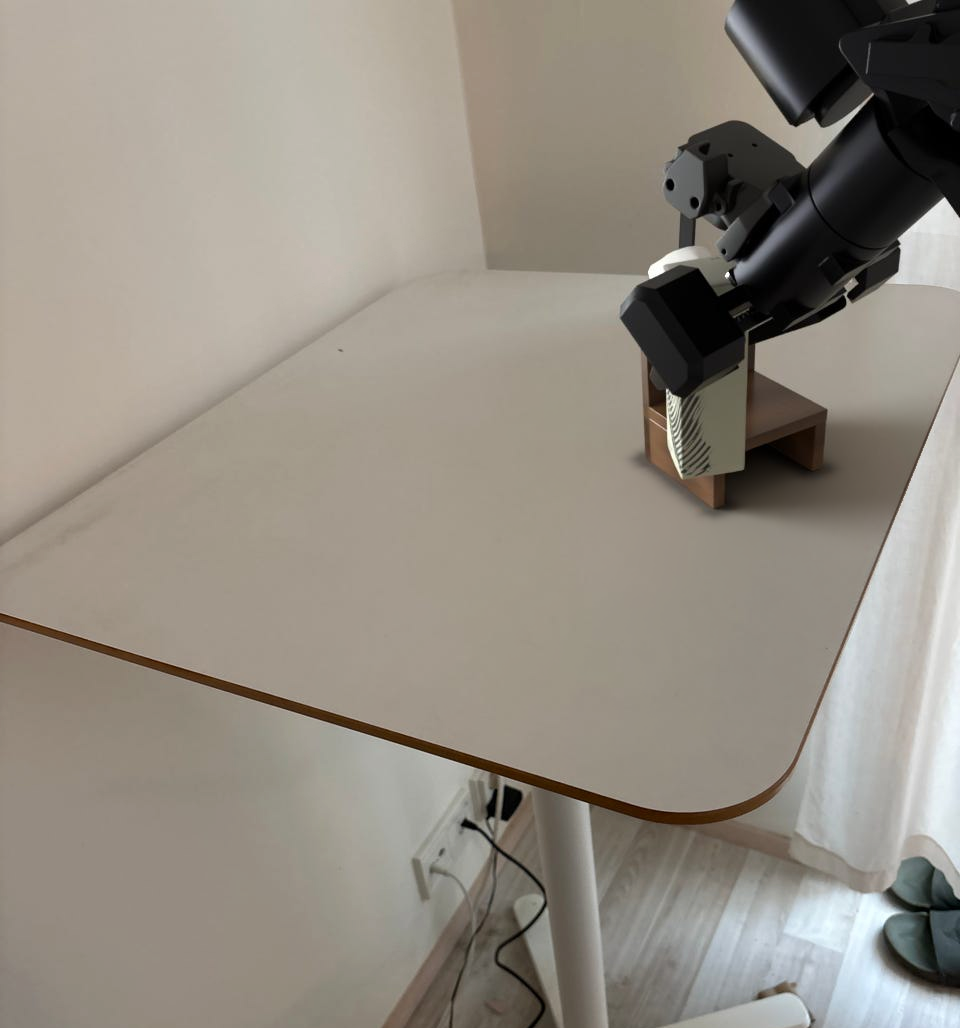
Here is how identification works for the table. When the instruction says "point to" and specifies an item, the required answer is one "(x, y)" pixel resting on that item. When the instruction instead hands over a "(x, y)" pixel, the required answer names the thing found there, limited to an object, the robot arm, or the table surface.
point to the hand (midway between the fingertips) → (689, 363)
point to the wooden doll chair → (768, 420)
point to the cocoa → (681, 247)
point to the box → (710, 404)
